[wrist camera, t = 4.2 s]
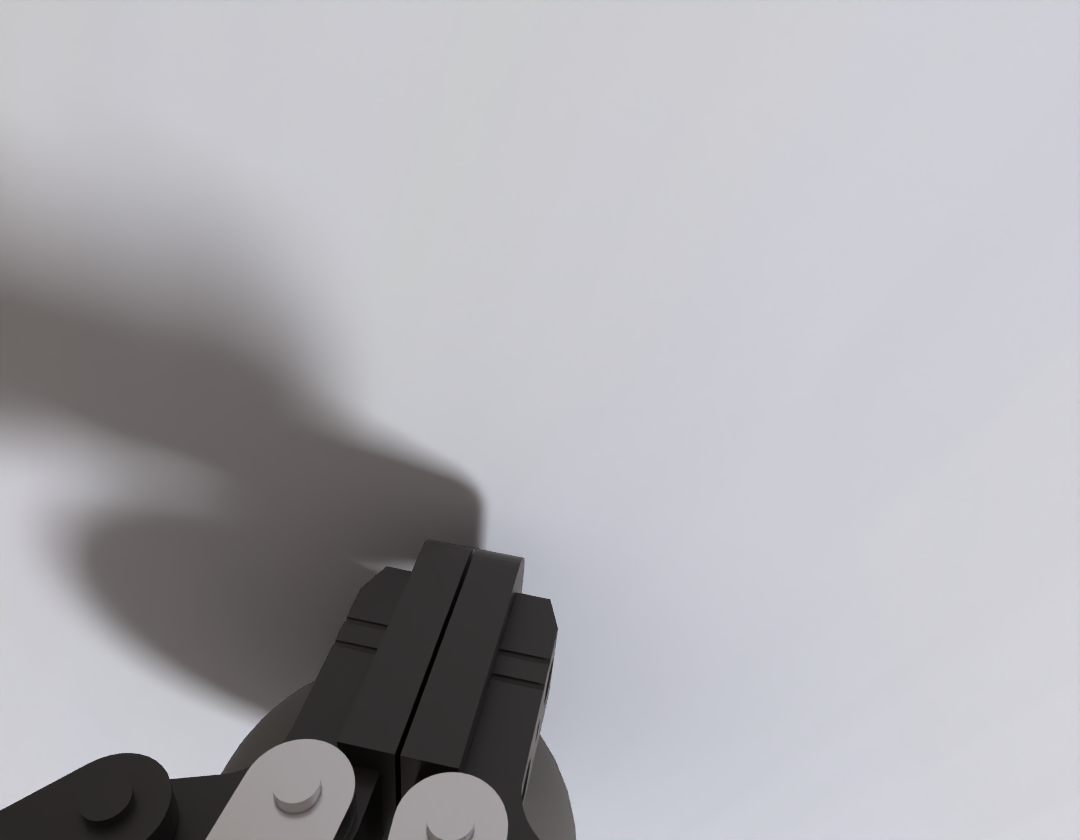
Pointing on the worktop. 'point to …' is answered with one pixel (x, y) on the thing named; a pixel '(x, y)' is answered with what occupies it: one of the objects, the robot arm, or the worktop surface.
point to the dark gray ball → (544, 792)
